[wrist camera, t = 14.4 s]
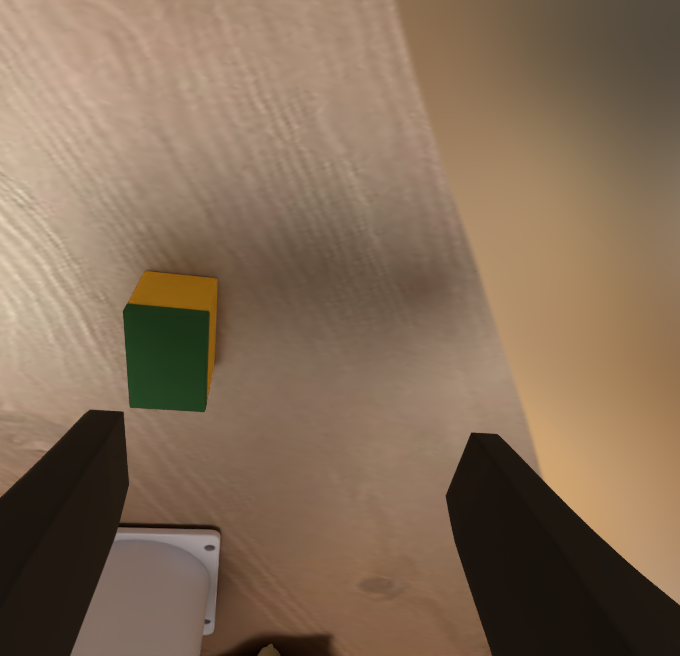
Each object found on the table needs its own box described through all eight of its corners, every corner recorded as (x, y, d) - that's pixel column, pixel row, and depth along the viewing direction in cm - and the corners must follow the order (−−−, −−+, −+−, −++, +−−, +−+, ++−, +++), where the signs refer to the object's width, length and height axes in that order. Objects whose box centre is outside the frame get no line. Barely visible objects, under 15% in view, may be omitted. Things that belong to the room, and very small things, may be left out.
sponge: (214, 364, 21) (205, 412, 18) (148, 359, 20) (129, 408, 18) (218, 277, 18) (208, 317, 16) (144, 269, 18) (122, 310, 16)
